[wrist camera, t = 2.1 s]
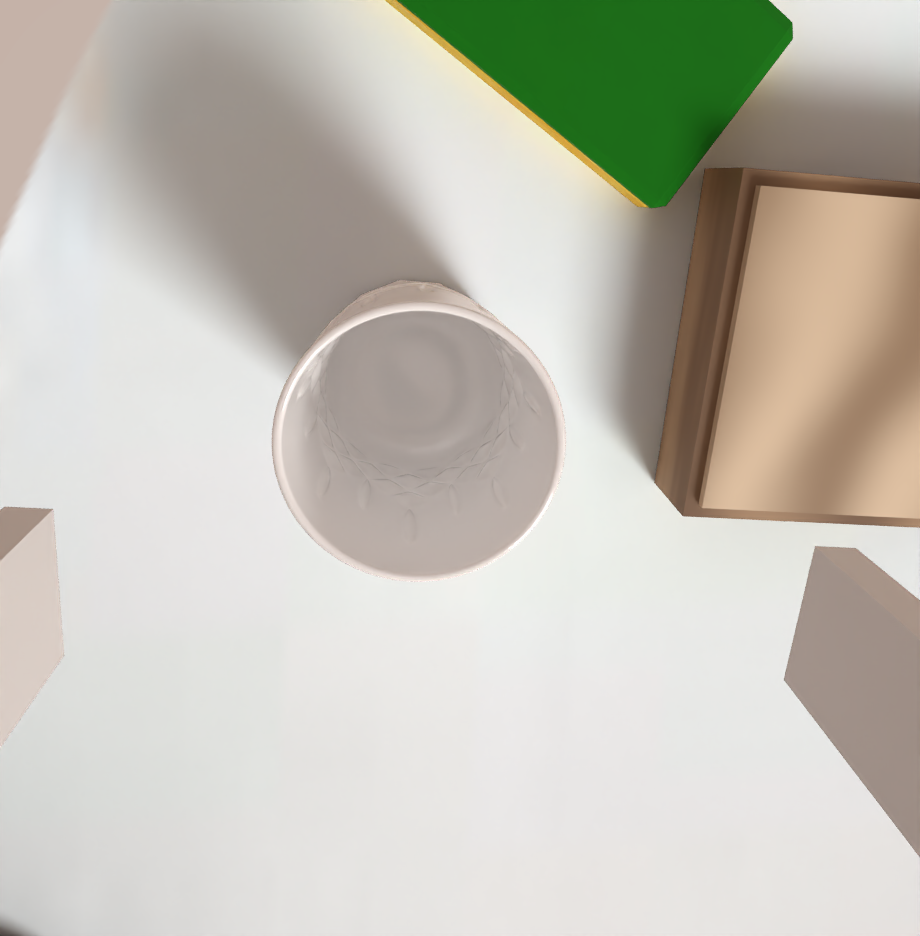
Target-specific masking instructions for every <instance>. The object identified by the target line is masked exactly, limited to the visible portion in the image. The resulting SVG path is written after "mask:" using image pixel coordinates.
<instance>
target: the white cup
mask: <svg viewBox="0 0 920 936" xmlns="http://www.w3.org/2000/svg"><path fill="white" fill-rule="evenodd" d="M565 449H566V431H565V422H564V415H563V411H562V406H561V403H560V399H559V396H558V394H557V391H556V389H555V386H554V384H553V382H552V380H551V378H550V376H549V374H548V373H547V371H546V369H545V368H544V366H543V365H542V363H541V362H540V360H539V359H538V358H537V356H536V355H535V354H534V353H533V351H532V350H531V349H530V348H529V347H528V346H527V345H526V344H525V343H524V342H523V341H522V340H521V339H520V338H519V337H518V336H516V335H515V334H514V333H513V332H512V331H511V330H509V329H508V328H507V327H506V326H505V325H504V324H503V323H502V322H501V321H499V320H498V319H497V318H496V317H495V316H494V315H493V314H492V313H490V312H489V311H488V310H486V309H485V308H484V307H482V306H480V305H479V304H477V303H476V302H475V301H473V300H472V299H470V298H469V297H467V296H465V295H463V294H461V293H459V292H456V291H454V290H451V289H449V288H448V287H446V286H444V285H442V284H441V283H430V282H418V281H406V280H397V281H395V282H392V283H390V284H387V285H385V286H382V287H380V288H377V289H375V290H372V291H369V292H367V293H364V294H362V295H360V296H359V297H358V298H357V299H356V300H355V301H354V302H352V303H351V304H349V305H348V306H347V307H346V308H345V309H343V310H342V311H341V312H340V313H339V314H338V315H337V316H336V317H335V318H334V319H333V320H331V321H330V323H329V324H328V325H327V326H326V328H325V329H324V330H323V331H322V332H321V334H320V335H319V336H318V338H317V339H316V340H315V341H314V343H313V344H312V345H311V347H310V348H309V349H308V350H307V351H306V353H305V354H304V355H303V356H302V357H301V359H300V360H299V361H298V363H297V364H296V366H295V367H294V369H293V370H292V372H291V374H290V375H289V377H288V379H287V381H286V383H285V385H284V387H283V390H282V392H281V395H280V398H279V400H278V404H277V407H276V411H275V416H274V421H273V428H272V456H273V464H274V469H275V474H276V477H277V481H278V484H279V487H280V490H281V492H282V495H283V497H284V499H285V501H286V503H287V505H288V507H289V509H290V511H291V512H292V514H293V516H294V517H295V519H296V520H297V521H298V523H299V524H300V525H301V527H302V528H303V529H304V530H305V532H306V533H307V534H308V535H309V536H310V537H311V538H312V539H313V540H314V541H315V542H316V543H317V544H318V545H319V546H321V547H322V548H323V549H324V550H326V551H327V552H328V553H330V554H331V555H332V556H334V557H335V558H337V559H339V560H340V561H342V562H344V563H345V564H347V565H349V566H351V567H353V568H356V569H358V570H360V571H363V572H365V573H368V574H371V575H375V576H378V577H382V578H387V579H392V580H399V581H411V582H425V581H437V580H444V579H449V578H453V577H457V576H461V575H464V574H467V573H470V572H473V571H475V570H478V569H480V568H482V567H484V566H486V565H488V564H490V563H492V562H494V561H496V560H497V559H499V558H500V557H502V556H503V555H505V554H506V553H508V552H509V551H510V550H512V549H513V548H514V547H515V546H516V545H518V544H519V543H520V542H521V541H522V540H523V539H524V538H525V537H526V536H527V535H528V534H529V533H530V532H531V531H532V529H533V528H534V527H535V526H536V525H537V523H538V522H539V521H540V519H541V518H542V516H543V515H544V513H545V512H546V510H547V508H548V507H549V505H550V503H551V501H552V499H553V497H554V494H555V492H556V490H557V487H558V484H559V481H560V478H561V474H562V470H563V465H564V459H565Z"/></svg>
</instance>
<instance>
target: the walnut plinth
mask: <svg viewBox="0 0 920 936" xmlns="http://www.w3.org/2000/svg"><path fill="white" fill-rule="evenodd" d="M654 483H655V484H656V485H657V486H658V487H659V489H660V490H661V491H662V492H663V493H664V494H665V496H666V497H667V498H668V499H669V500H670V502H671V503H672V504H673V505H674V506H675V507H676V509H677V510H678V511H679V512H680V513H681V515H682V516H690V517H711V518H731V519H752V520H773V521H794V522H815V523H836V524H857V525H878V526H899V527H919V528H920V183H911V182H900V181H889V180H877V179H866V178H855V177H843V176H832V175H821V174H809V173H798V172H787V171H775V170H764V169H753V168H709V169H705V172H704V178H703V185H702V191H701V197H700V203H699V209H698V216H697V222H696V228H695V234H694V240H693V247H692V253H691V259H690V265H689V271H688V278H687V284H686V290H685V296H684V302H683V309H682V315H681V321H680V327H679V333H678V340H677V346H676V352H675V358H674V365H673V371H672V377H671V383H670V389H669V396H668V402H667V408H666V414H665V420H664V427H663V433H662V439H661V445H660V451H659V458H658V464H657V470H656V476H655V482H654Z"/></svg>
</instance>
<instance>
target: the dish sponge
mask: <svg viewBox="0 0 920 936" xmlns="http://www.w3.org/2000/svg"><path fill="white" fill-rule="evenodd" d="M385 1H387V2H388V3H389V4H390V5H391V6H393V7H394V8H395V9H396V10H398V11H399V12H400V13H401V14H402V15H404V16H405V17H406V18H407V19H409V20H410V21H411V22H412V23H413V24H415V25H416V26H417V27H418V28H420V29H421V30H422V31H423V32H424V33H426V34H427V35H428V36H429V37H431V38H432V39H433V40H434V41H435V42H437V43H438V44H439V45H440V46H442V47H443V48H444V49H445V50H446V51H448V52H449V53H450V54H451V55H453V56H454V57H455V58H456V59H457V60H459V61H460V62H461V63H462V64H464V65H465V66H466V67H467V68H468V69H470V70H471V71H472V72H473V73H475V74H476V75H477V76H478V77H479V78H481V79H482V80H483V81H484V82H486V83H487V84H488V85H489V86H490V87H492V88H493V89H494V90H495V91H497V92H498V93H499V94H500V95H501V96H503V97H504V98H505V99H506V100H508V101H509V102H510V103H511V104H512V105H514V106H515V107H516V108H517V109H519V110H520V111H521V112H522V113H523V114H525V115H526V116H527V117H528V118H530V119H531V120H532V121H533V122H534V123H536V124H537V125H538V126H539V127H541V128H542V129H543V130H544V131H545V132H547V133H548V134H549V135H550V136H552V137H553V138H554V139H555V140H556V141H558V142H559V143H560V144H561V145H563V146H564V147H565V148H566V149H567V150H569V151H570V152H571V153H572V154H574V155H575V156H576V157H577V158H578V159H580V160H581V161H582V162H583V163H585V164H586V165H587V166H588V167H589V168H591V169H592V170H593V171H594V172H596V173H597V174H598V175H599V176H600V177H602V178H603V179H604V180H605V181H607V182H608V183H609V184H610V185H611V186H613V187H614V188H615V189H616V190H618V191H619V192H620V193H621V194H622V195H624V196H625V197H626V198H627V199H629V200H630V201H631V202H632V203H633V204H635V205H636V206H638V207H649V208H656V207H662V206H666V205H667V204H668V202H669V201H670V200H671V198H672V197H673V196H674V195H675V193H676V192H677V191H678V189H679V188H680V187H681V185H682V184H683V183H684V181H685V180H686V179H687V177H688V176H689V175H690V173H691V172H692V171H693V170H694V168H695V167H696V166H697V164H698V163H699V162H700V160H701V159H702V158H703V156H704V155H705V154H706V152H707V151H708V150H709V148H710V147H711V146H712V145H713V143H714V142H715V141H716V139H717V138H718V137H719V135H720V134H721V133H722V131H723V130H724V129H725V127H726V126H727V125H728V123H729V122H730V121H731V120H732V118H733V117H734V116H735V114H736V113H737V112H738V110H739V109H740V108H741V106H742V105H743V104H744V102H745V101H746V100H747V98H748V97H749V96H750V95H751V93H752V92H753V91H754V89H755V88H756V87H757V85H758V84H759V83H760V81H761V80H762V79H763V77H764V76H765V75H766V73H767V72H768V71H769V70H770V68H771V67H772V66H773V64H774V63H775V62H776V60H777V59H778V58H779V56H780V55H781V54H782V52H783V51H784V50H785V48H786V47H787V46H788V45H789V43H790V42H791V41H792V39H793V27H792V22H791V21H790V20H789V19H788V18H787V17H786V16H785V15H784V14H783V13H782V12H781V11H780V10H779V9H777V8H776V7H775V6H774V5H773V4H772V3H771V2H770V1H769V0H385Z"/></svg>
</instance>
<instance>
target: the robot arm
mask: <svg viewBox="0 0 920 936" xmlns="http://www.w3.org/2000/svg"><path fill="white" fill-rule="evenodd" d="M63 657H64V646H63V633H62V620H61V606H60V593H59V579H58V566H57V553H56V539H55V526H54V513H53V509H41V508H20V507H4V508H3V509H1V510H0V748H1V747H2V745H3V744H4V742H5V741H6V739H7V738H8V736H9V735H10V733H11V732H12V731H13V729H14V728H15V726H16V725H17V723H18V722H19V720H20V719H21V718H22V716H23V715H24V713H25V712H26V710H27V709H28V707H29V706H30V704H31V703H32V702H33V700H34V699H35V697H36V696H37V694H38V693H39V691H40V690H41V688H42V687H43V686H44V684H45V683H46V681H47V680H48V678H49V677H50V675H51V674H52V673H53V671H54V670H55V668H56V667H57V665H58V664H59V662H60V661H61V659H62V658H63ZM784 681H785V682H786V683H787V684H788V686H789V687H790V688H791V690H792V691H793V692H794V694H795V695H796V696H797V698H798V699H799V700H800V701H801V703H802V704H803V705H804V707H805V708H806V709H807V711H808V712H809V713H810V714H811V716H812V717H813V718H814V720H815V721H816V722H817V724H818V725H819V726H820V728H821V729H822V730H823V731H824V733H825V734H826V735H827V737H828V738H829V739H830V741H831V742H832V743H833V744H834V746H835V747H836V748H837V750H838V751H839V752H840V754H841V755H842V756H843V758H844V759H845V760H846V761H847V763H848V764H849V765H850V767H851V768H852V769H853V771H854V772H855V773H856V775H857V776H858V777H859V778H860V780H861V781H862V782H863V784H864V785H865V786H866V788H867V789H868V790H869V791H870V793H871V794H872V795H873V797H874V798H875V799H876V801H877V802H878V803H879V805H880V806H881V807H882V808H883V810H884V811H885V812H886V814H887V815H888V816H889V818H890V819H891V820H892V822H893V823H894V824H895V825H896V827H897V828H898V829H899V831H900V832H901V833H902V835H903V836H904V837H905V838H906V840H907V841H908V842H909V844H910V845H911V846H912V848H913V849H914V850H915V852H916V853H917V854H918V855H919V857H920V600H919V599H917V598H916V597H915V596H914V595H913V594H911V593H910V592H909V591H908V590H906V589H905V588H904V587H903V586H901V585H900V584H899V583H898V582H897V581H895V580H894V579H893V578H892V577H890V576H889V575H888V574H887V573H886V572H884V571H883V570H882V569H881V568H879V567H878V566H877V565H876V564H874V563H873V562H872V561H871V560H870V559H868V558H867V557H866V556H865V555H863V554H862V553H861V552H860V551H859V550H857V549H856V548H840V547H819V546H815V549H814V553H813V557H812V562H811V566H810V570H809V574H808V579H807V583H806V587H805V591H804V596H803V600H802V604H801V608H800V613H799V617H798V621H797V626H796V630H795V634H794V638H793V643H792V647H791V651H790V655H789V660H788V664H787V668H786V672H785V677H784Z"/></svg>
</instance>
